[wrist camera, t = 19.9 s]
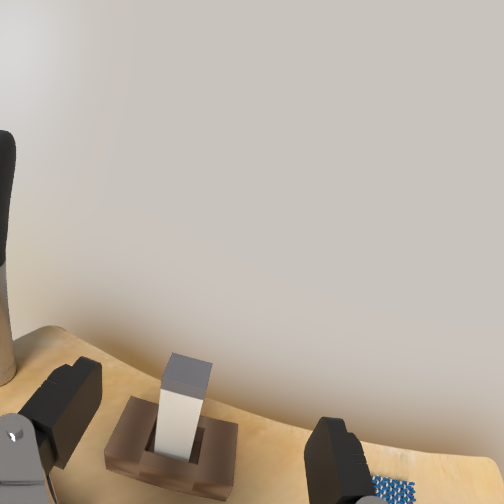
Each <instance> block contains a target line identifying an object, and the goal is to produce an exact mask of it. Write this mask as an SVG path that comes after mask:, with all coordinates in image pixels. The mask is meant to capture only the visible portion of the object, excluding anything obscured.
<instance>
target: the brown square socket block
mask: <svg viewBox="0 0 504 504" xmlns="http://www.w3.org/2000/svg"><path fill="white" fill-rule="evenodd" d="M158 410H159V404H155V403H152V402H149V401H146V400H142V399H139V398H136V397H133V396H131V397H130V399H129V401H128V403H127V405H126V407H125V409H124V411H123V413H122V415H121V417H120V419H119V421H118V423H117V425H116V427H115V429H114V431H113V433H112V435H111V437H110V440H109V442H108V444H107V446H106V448H105V450H104V455H105V463H106V469H107V470H110V471H113V472H115V473H118V474H121V475H124V476H127V477H130V478H133V479H136V480H139V481H142V482H146V483H149V484H152V485H156V486H159V487H163V488H167V489H170V490H174V491H178V492H183V493H187V494H191V495H196V496H201V497H205V498H211V499H216V500H222V501H226V499H227V497H228V495H229V493H230V491H231V489H232V487H233V480H234V468H235V456H236V443H237V431H238V424H236V423H231V422H226V421H221V420H217V419H212V418H208V417H204V416H199V420H198V424H197V428H196V432H195V437H194V441H193V445H192V449H191V453H190V458H189V462H184V461H180V460H176V459H172V458H169V457H165V456H161V455H158V454H155V453H154V447H155V437H156V428H157V418H158Z"/></svg>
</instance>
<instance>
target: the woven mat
mask: <svg viewBox="0 0 504 504" xmlns="http://www.w3.org/2000/svg"><path fill="white" fill-rule="evenodd" d="M372 476H373V477H371V478H372V481H373V485H374V488H375V492H376V495H377V497H379V498H382V499H384V500H385V501H386V502H387V503H388V504H413V502H411V501H414V502H415V501H416V499H414V496H412V495H413V493H415V491H414V490H413V488H411V486H409V485H415V483H413V482H410V483H409V482H407V481H405V480H403V481H400V480H399V481H400V482H398V481H397V480H396V478H394V480H392V479H391V478H389V479H390V480H389V479H387V478H388V477H386V478H382V477H381V476H380V477H379V475H377V476H376V477H375V476H374V475H372ZM381 484H382V485H381Z"/></svg>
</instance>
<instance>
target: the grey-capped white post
mask: <svg viewBox="0 0 504 504" xmlns="http://www.w3.org/2000/svg"><path fill="white" fill-rule="evenodd" d="M211 367H212V363H209V362H205V361H201V360H197V359H194V358H190V357H186V356H183V355H179V354H175V353H172V355H171V357H170V360H169V362H168V364H167V366H166V369H165V371H164V373H163V376H162V380H161V388H160V389H161V393H160V401H159V410H158V418H157V428H156V437H155V447H154V453H155V454H158V455H161V456H165V457H169V458H172V459H176V460H180V461H184V462H189V458H190V453H191V449H192V445H193V441H194V437H195V432H196V428H197V424H198V420H199V416H200V412H201V407H202V403H203V400H204V397H205V393H206V389H207V385H208V381H209V376H210V371H211Z"/></svg>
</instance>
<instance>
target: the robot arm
mask: <svg viewBox="0 0 504 504" xmlns="http://www.w3.org/2000/svg"><path fill="white" fill-rule="evenodd" d="M15 161H16V145H15V140H14V138H13V136H12V134H11V133H9V132H8V131H4V130H0V386H1V385H4V384H6V383H7V382H9V381H10V380H11V379H12V378H13V377H14V375H15V373H16V369H17V365H16V359H15V354H14V347H13V340H12V333H11V326H10V318H9V308H8V298H7V297H8V296H7V282H6V253H5V252H6V251H5V250H6V240H7V232H8V218H9V217H8V216H9V206H10V198H11V191H12V184H13V178H14V171H15ZM101 399H102V365H101V363H99V362H96V361H94V360H91V359H89V358H86V357H83V356H81V357H80V358H79V359H78V360H77V361H76V362H75V364H74V365H73V366H70V365H67V364H65V365H63V366H61V367H59V368H57V369H55V370H54V371H53V372H52V373H51V374H50V375H49V377H48V378H47V380H45V381H44V382H43V384H42V385H41V387H39V388H38V389H37V391H36V392H35V393H34V394H33V395H32V397H31V398H30V399H29V400H28V402H27V403H26V404H25V405H24V406H23V408H22V409H21V410H20V411H19V412H18V413H17V414H15V413H10V414H5V415H3V416H1V417H0V504H59V503H58V500H57V497H56V494H55V490H54V487H53V484H52V480H51V476H50V471H51V469H52V468H53V466H57V467H59V468H61V469H63V470H64V468H65V466H66V464H67V462H68V461H69V459H70V457H71V455H72V453H73V451H74V450H75V448H76V446H77V444H78V443H79V441H80V439H81V437H82V436H83V434H84V432H85V430H86V429H87V427H88V425H89V423H90V422H91V420H92V418H93V416H94V415H95V413H96V411H97V410H98V408H99V406H100V403H101ZM304 461H305V469H306V478H307V486H308V494H309V503H310V504H388V503H387V502H386V501H385V500H384V499H382V498H379V497H377V495H376V492H375V488H374V485H373V481H372V478H371V475H370V471H369V468H368V465H367V464H366V463H367V461H366V458H365V456H364V452H363V448H362V445H361V442H360V441H359V440H358V439H357V438H356V436H355V435H354V434H353V433H348V432H347V430H346V427H345V423H344V421H343V419H340V418H329V417H322V418H321V419H320V420H319V422H318V424H317V425H316V427H315V429H314V431H313V432H312V434H311V436H310V438H309V439H308V441H307V443H306V446H305V450H304Z"/></svg>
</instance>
